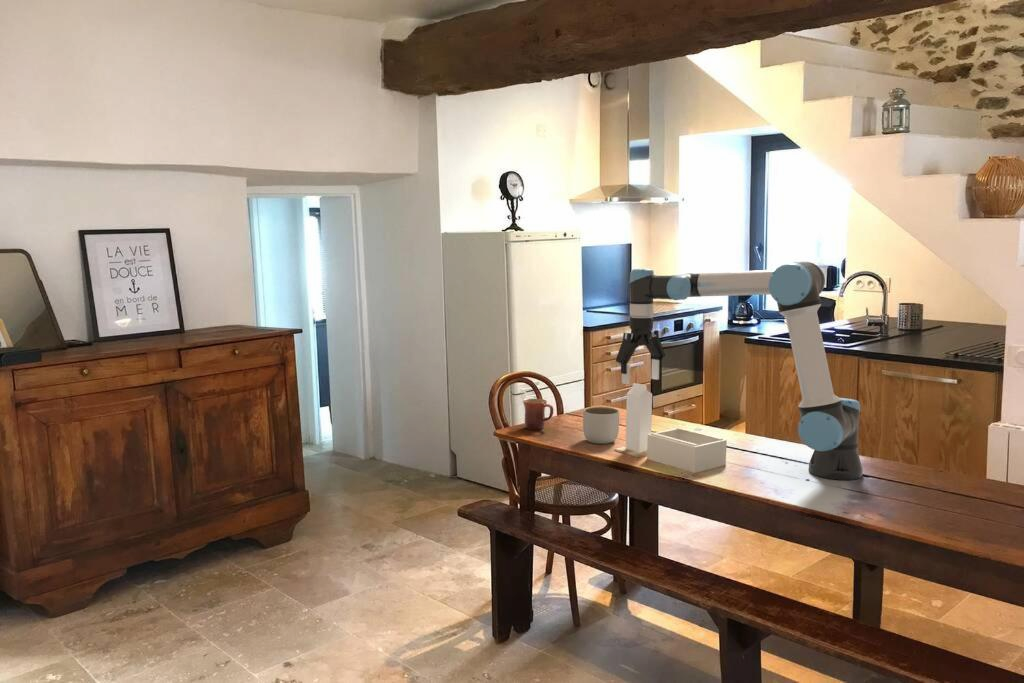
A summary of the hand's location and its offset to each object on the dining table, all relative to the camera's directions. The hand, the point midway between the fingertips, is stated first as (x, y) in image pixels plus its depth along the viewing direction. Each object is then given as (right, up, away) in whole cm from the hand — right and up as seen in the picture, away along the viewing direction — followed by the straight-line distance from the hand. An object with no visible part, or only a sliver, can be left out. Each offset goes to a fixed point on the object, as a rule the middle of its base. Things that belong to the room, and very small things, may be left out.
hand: (640, 381), depth 271 cm
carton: (+13, -25, -9) cm, 30 cm away
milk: (0, -23, +3) cm, 23 cm away
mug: (-32, -19, +34) cm, 51 cm away
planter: (-11, -22, +16) cm, 29 cm away
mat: (0, -23, +3) cm, 24 cm away
